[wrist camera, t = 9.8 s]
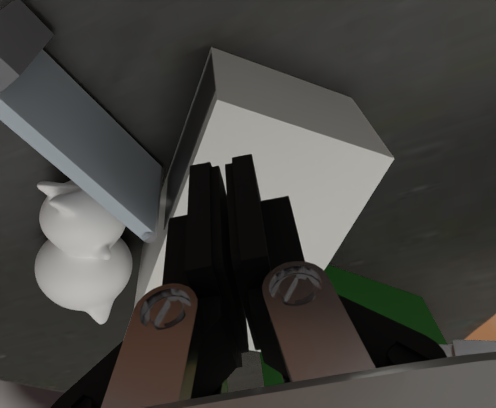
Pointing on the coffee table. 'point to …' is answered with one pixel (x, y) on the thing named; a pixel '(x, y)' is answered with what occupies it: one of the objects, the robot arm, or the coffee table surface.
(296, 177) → the white rectangular box
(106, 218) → the cat figurine
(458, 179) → the coffee table surface
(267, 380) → the hardback book
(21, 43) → the side door
